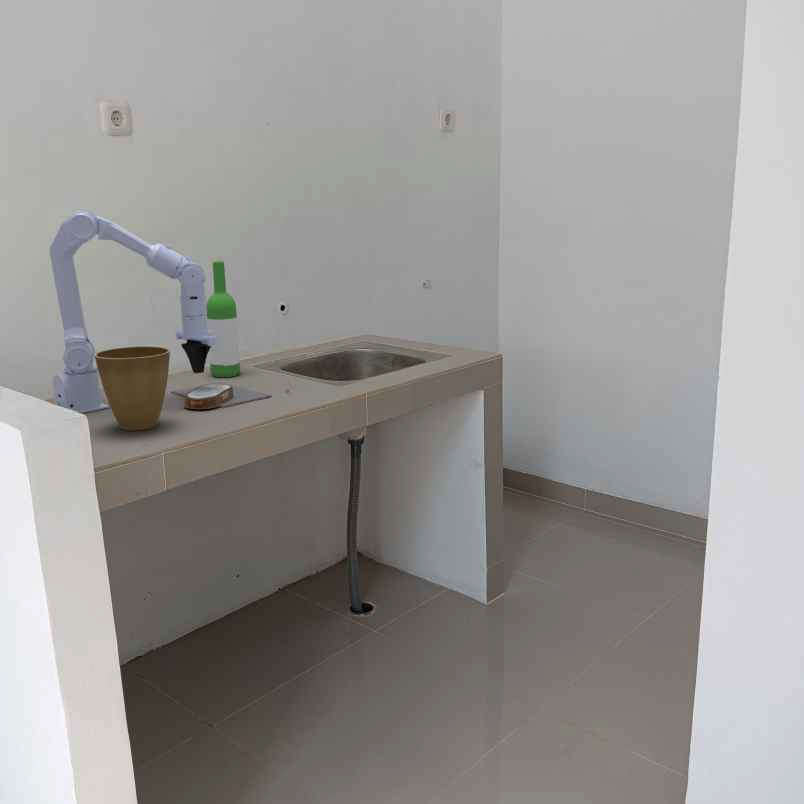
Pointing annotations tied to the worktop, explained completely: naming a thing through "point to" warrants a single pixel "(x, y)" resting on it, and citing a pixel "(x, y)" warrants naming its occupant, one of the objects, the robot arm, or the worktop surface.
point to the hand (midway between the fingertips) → (198, 372)
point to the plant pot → (134, 384)
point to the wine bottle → (223, 327)
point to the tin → (208, 396)
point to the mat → (238, 392)
